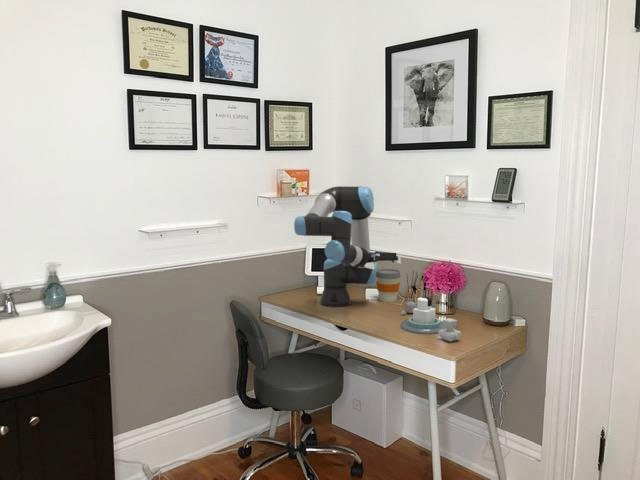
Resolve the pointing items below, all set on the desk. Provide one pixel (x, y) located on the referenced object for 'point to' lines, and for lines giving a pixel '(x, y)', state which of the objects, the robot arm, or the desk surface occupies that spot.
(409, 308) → the reed diffuser
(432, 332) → the ring dish
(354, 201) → the robot arm
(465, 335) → the desk surface
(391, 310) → the desk surface
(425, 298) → the medicine bottle
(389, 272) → the reusable coffee cup
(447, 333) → the stamp
